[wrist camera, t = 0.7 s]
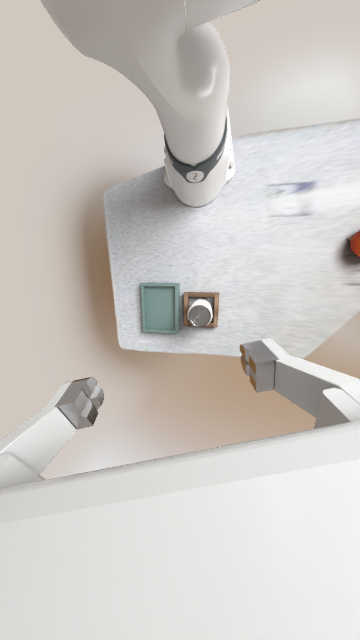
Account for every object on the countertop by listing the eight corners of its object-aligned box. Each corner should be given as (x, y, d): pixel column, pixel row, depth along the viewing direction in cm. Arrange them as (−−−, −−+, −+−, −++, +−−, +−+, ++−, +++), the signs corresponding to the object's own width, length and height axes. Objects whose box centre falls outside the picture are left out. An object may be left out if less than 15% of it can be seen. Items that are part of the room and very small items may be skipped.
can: (186, 307, 52) (181, 314, 40) (202, 294, 50) (200, 297, 39) (200, 322, 52) (198, 333, 41) (215, 309, 51) (218, 317, 39)
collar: (185, 292, 51) (184, 292, 49) (218, 292, 49) (219, 293, 47) (184, 323, 53) (183, 325, 51) (216, 325, 52) (217, 327, 49)
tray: (143, 282, 52) (140, 282, 50) (179, 283, 51) (178, 283, 48) (145, 329, 56) (142, 331, 54) (179, 331, 54) (178, 333, 52)
